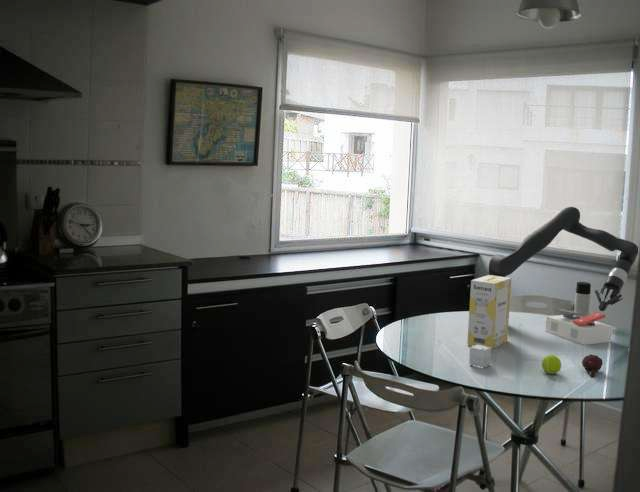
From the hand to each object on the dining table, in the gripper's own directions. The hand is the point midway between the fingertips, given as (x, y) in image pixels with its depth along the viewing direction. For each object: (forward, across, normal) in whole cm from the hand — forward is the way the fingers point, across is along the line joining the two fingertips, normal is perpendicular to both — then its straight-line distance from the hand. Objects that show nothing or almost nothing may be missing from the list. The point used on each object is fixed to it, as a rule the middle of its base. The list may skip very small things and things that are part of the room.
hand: (601, 310), depth 322 cm
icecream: (+45, -21, +26) cm, 56 cm away
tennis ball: (+55, -12, +36) cm, 67 cm away
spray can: (-6, +19, -25) cm, 32 cm away
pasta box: (+43, +27, +23) cm, 56 cm away
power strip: (+12, +8, -7) cm, 16 cm away
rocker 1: (+4, +14, -2) cm, 15 cm away
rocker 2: (+7, +2, +1) cm, 8 cm away
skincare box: (+64, +11, +45) cm, 79 cm away
